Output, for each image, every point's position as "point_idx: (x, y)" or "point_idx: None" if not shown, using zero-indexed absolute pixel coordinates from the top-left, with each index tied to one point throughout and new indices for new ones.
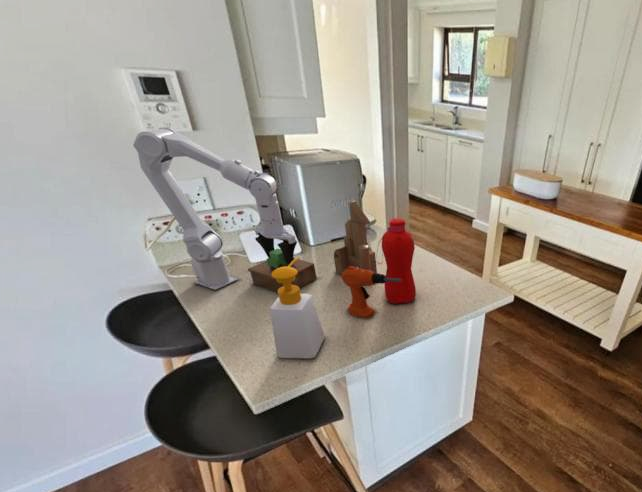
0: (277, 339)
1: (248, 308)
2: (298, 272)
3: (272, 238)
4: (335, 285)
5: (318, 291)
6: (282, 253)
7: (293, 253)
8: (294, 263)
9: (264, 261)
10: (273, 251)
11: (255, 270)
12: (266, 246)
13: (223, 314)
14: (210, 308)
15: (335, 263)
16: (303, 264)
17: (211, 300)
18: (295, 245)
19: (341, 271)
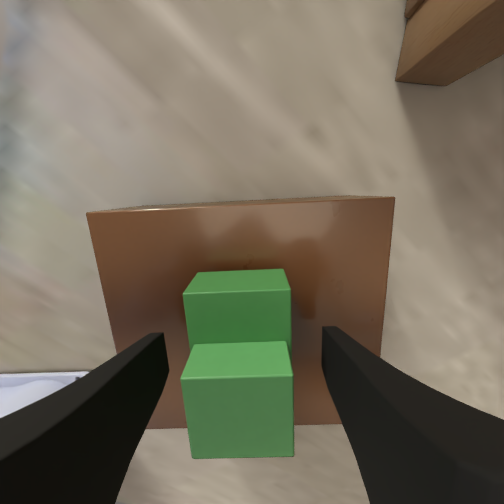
0: None
1: (296, 456)
2: (380, 325)
3: (37, 464)
4: (470, 196)
5: (430, 276)
6: (292, 406)
7: (383, 362)
8: (281, 266)
9: (114, 338)
10: (211, 436)
11: (179, 422)
12: (115, 474)
13: (263, 499)
14: (204, 497)
15: (445, 47)
16: (342, 246)
17: (163, 475)
18: (498, 426)
19: (459, 76)
